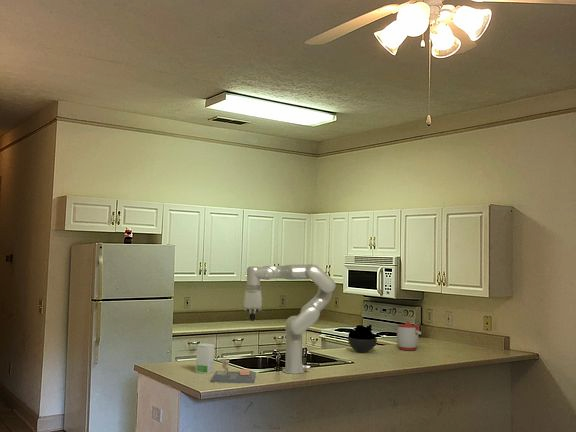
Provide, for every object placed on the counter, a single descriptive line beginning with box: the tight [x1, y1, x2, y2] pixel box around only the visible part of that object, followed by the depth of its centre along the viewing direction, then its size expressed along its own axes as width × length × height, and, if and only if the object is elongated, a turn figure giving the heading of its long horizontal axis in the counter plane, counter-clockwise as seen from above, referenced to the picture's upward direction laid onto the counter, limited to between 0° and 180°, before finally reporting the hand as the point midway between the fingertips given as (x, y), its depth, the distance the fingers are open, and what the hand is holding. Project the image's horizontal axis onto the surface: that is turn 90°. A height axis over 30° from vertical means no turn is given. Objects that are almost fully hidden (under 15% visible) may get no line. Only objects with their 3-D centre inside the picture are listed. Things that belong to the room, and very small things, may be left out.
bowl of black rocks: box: [347, 324, 378, 353], centre depth 420 cm, size 20×20×19 cm
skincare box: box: [195, 342, 216, 375], centre depth 344 cm, size 8×7×16 cm
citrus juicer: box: [396, 320, 422, 352], centre depth 435 cm, size 16×17×20 cm
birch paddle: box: [221, 359, 230, 372], centre depth 334 cm, size 4×3×6 cm
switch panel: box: [211, 370, 257, 384], centre depth 328 cm, size 22×19×4 cm
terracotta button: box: [239, 368, 251, 375], centre depth 323 cm, size 5×5×2 cm
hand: (252, 320), depth 347 cm, fingers closed
